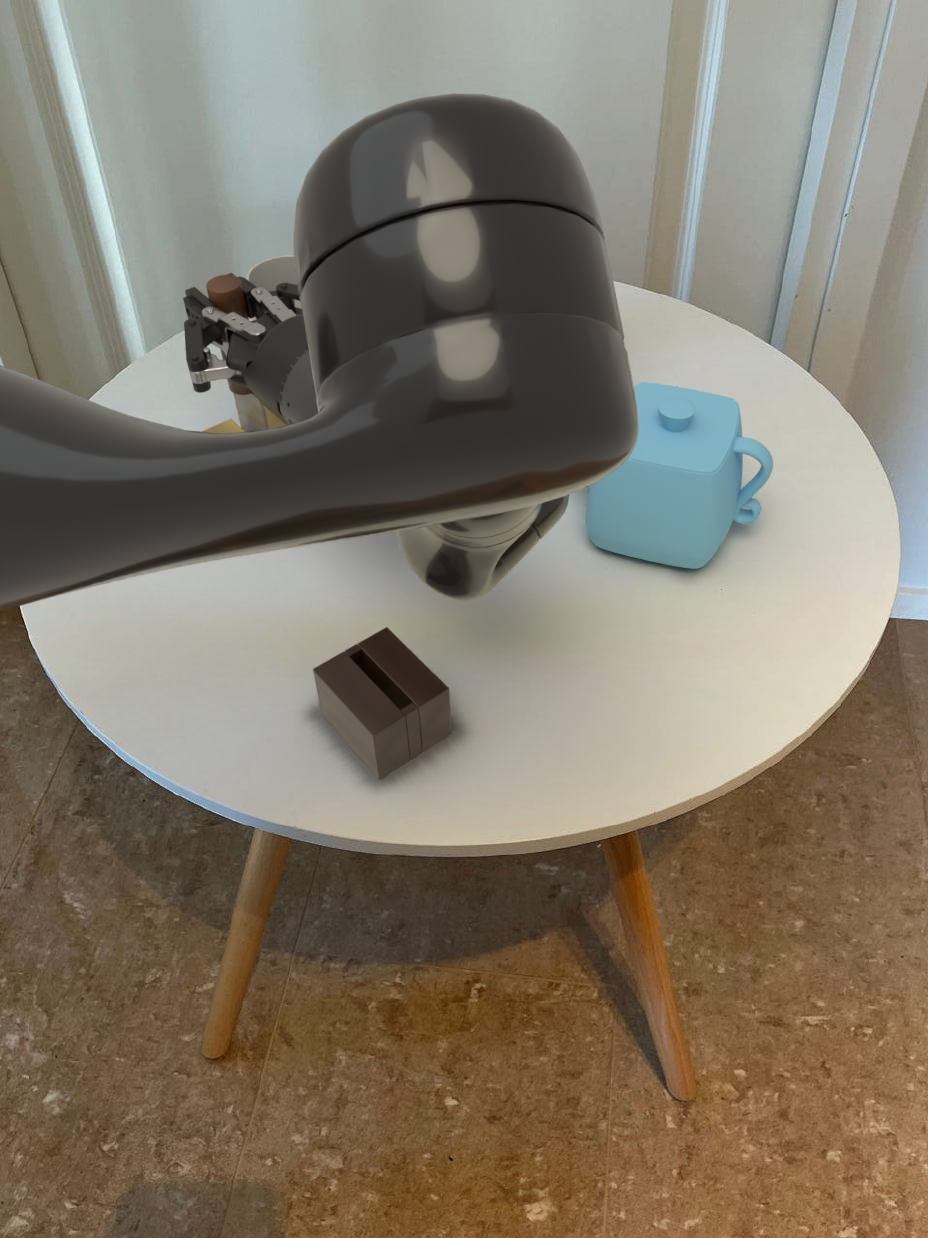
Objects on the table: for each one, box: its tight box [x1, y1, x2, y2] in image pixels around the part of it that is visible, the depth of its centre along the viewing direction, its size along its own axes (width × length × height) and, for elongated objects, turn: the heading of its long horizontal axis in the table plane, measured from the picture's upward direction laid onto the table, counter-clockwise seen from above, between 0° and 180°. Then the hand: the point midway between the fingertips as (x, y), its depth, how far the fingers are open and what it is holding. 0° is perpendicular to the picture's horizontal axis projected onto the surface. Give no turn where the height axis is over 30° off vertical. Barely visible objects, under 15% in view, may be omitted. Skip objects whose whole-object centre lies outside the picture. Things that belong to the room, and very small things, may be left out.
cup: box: [245, 254, 302, 321], centre depth 99 cm, size 7×10×9 cm
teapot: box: [585, 381, 774, 570], centre depth 82 cm, size 12×18×12 cm
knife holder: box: [312, 626, 452, 781], centre depth 70 cm, size 6×7×5 cm
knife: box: [205, 274, 269, 432], centre depth 84 cm, size 3×5×15 cm, turn 38°
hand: (209, 292), depth 81 cm, fingers closed on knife, 2 cm apart
